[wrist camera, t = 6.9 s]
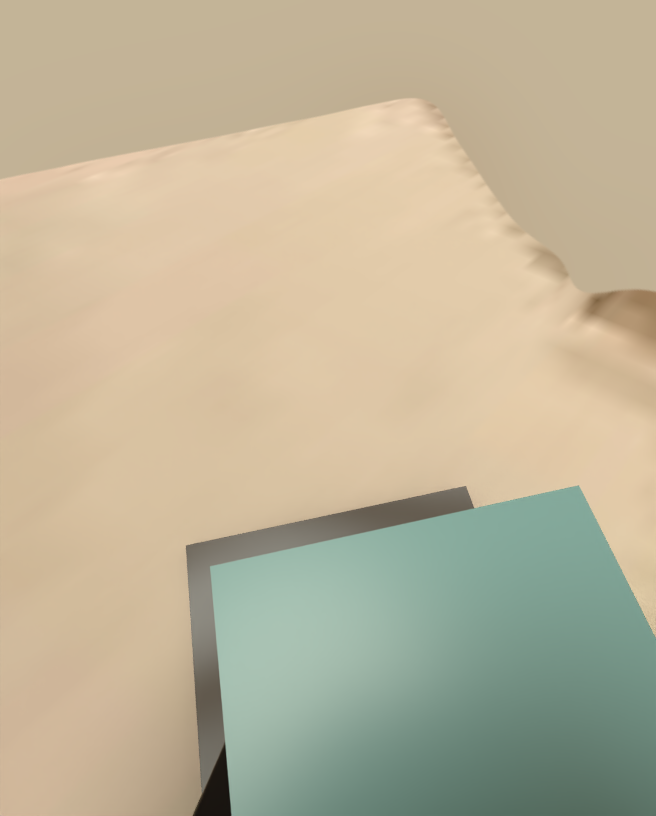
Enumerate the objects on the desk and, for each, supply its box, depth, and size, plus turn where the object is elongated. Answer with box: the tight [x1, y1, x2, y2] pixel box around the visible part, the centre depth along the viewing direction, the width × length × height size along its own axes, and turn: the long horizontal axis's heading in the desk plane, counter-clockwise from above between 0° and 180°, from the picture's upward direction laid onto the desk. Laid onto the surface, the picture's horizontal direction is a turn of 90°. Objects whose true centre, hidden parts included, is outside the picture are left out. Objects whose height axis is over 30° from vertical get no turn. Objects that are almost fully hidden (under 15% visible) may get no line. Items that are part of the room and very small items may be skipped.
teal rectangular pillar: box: [210, 486, 656, 816], centre depth 10 cm, size 6×6×11 cm
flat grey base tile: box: [186, 486, 474, 793], centre depth 17 cm, size 14×14×5 cm
